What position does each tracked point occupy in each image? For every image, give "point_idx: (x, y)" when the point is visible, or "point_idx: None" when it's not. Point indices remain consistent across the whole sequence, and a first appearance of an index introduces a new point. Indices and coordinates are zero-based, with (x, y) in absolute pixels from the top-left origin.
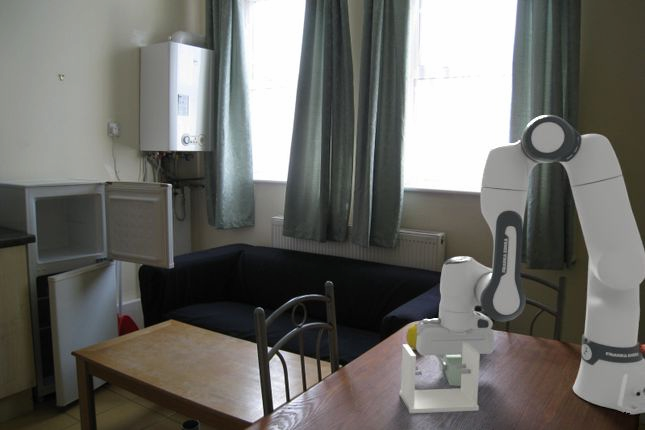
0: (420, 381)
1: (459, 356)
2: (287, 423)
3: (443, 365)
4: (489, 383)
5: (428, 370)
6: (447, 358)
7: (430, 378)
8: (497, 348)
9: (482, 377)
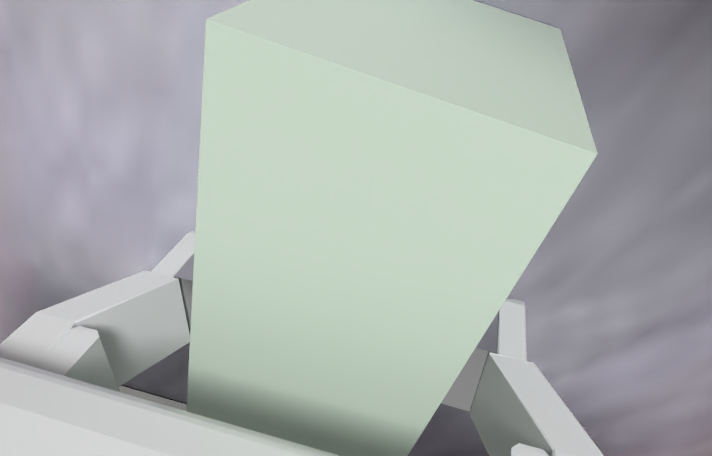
0: (64, 250)
1: (386, 423)
2: None
3: (188, 331)
4: (607, 441)
5: (139, 68)
6: (188, 407)
7: (141, 231)
8: None
9: (645, 357)
